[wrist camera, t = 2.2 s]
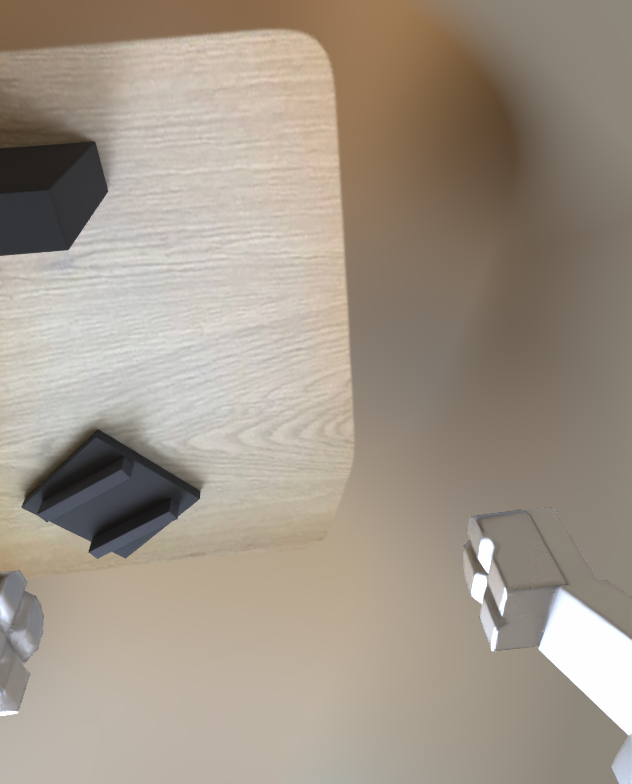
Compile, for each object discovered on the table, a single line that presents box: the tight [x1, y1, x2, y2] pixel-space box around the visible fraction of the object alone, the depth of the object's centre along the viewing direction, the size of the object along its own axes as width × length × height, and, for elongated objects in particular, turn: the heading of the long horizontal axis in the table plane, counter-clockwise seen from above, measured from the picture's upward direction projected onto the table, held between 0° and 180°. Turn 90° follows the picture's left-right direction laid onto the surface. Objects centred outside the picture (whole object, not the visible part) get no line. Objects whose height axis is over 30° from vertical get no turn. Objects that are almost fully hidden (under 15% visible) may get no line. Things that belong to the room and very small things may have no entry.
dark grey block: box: [0, 142, 108, 256], centre depth 31 cm, size 8×3×10 cm, turn 93°
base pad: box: [22, 430, 200, 559], centre depth 50 cm, size 11×11×3 cm
